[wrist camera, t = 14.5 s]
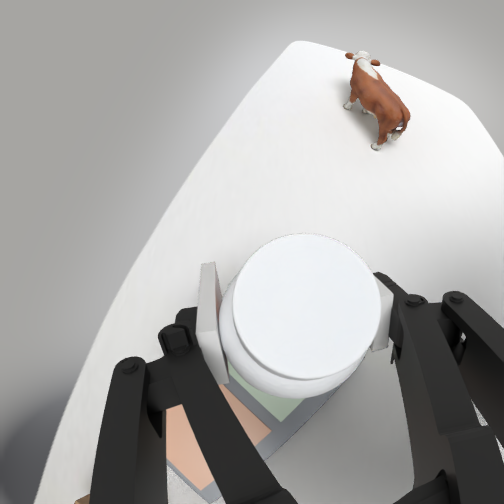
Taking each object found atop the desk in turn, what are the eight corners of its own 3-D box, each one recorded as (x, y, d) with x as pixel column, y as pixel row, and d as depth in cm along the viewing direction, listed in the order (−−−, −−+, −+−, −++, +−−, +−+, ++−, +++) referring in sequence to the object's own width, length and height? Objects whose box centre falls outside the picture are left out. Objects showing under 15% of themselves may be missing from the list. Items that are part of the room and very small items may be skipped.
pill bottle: (226, 306, 20) (196, 222, 10) (318, 291, 21) (371, 199, 11) (240, 400, 18) (220, 419, 8) (337, 382, 18) (422, 373, 8)
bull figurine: (358, 89, 39) (369, 44, 32) (401, 156, 34) (424, 108, 26) (331, 90, 39) (339, 43, 31) (371, 159, 33) (391, 108, 26)
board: (269, 275, 28) (269, 270, 27) (361, 358, 25) (365, 356, 24) (124, 410, 23) (118, 411, 22) (211, 500, 20) (209, 505, 19)
